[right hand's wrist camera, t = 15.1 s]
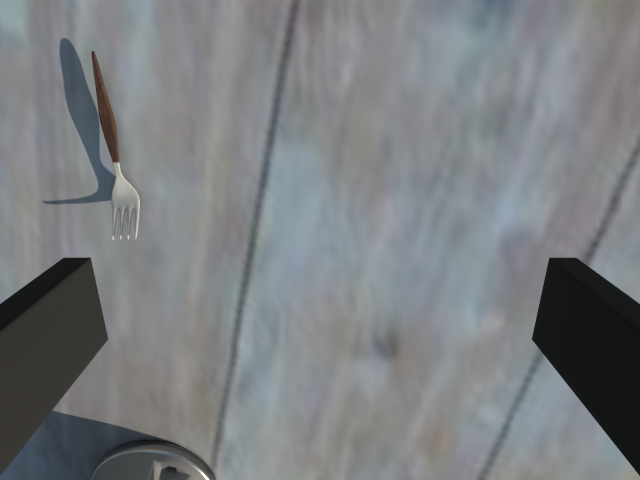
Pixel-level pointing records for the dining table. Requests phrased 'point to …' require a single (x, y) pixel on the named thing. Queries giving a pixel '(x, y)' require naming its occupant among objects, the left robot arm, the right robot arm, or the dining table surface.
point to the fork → (115, 158)
